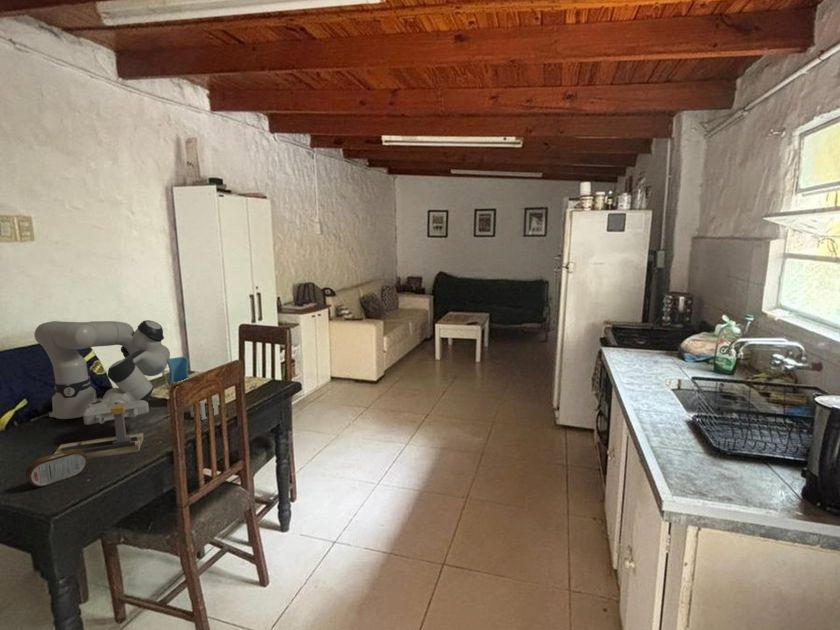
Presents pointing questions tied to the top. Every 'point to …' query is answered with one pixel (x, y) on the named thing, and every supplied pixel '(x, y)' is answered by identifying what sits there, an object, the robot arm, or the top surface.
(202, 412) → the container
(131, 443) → the fader board
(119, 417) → the fader lever
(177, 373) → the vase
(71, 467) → the tin
